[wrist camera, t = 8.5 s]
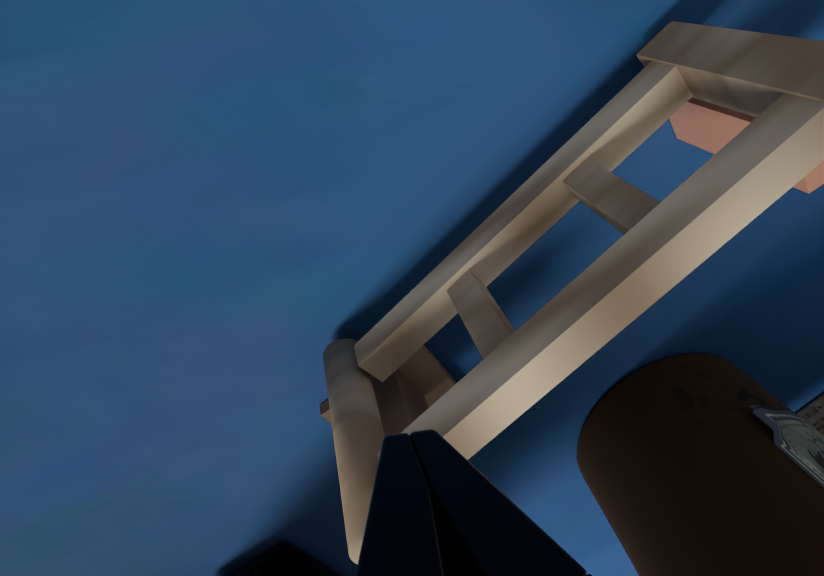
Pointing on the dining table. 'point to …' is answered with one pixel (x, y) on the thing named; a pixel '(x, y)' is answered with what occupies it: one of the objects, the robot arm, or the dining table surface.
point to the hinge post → (407, 391)
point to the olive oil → (706, 473)
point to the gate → (614, 270)
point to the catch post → (723, 133)
